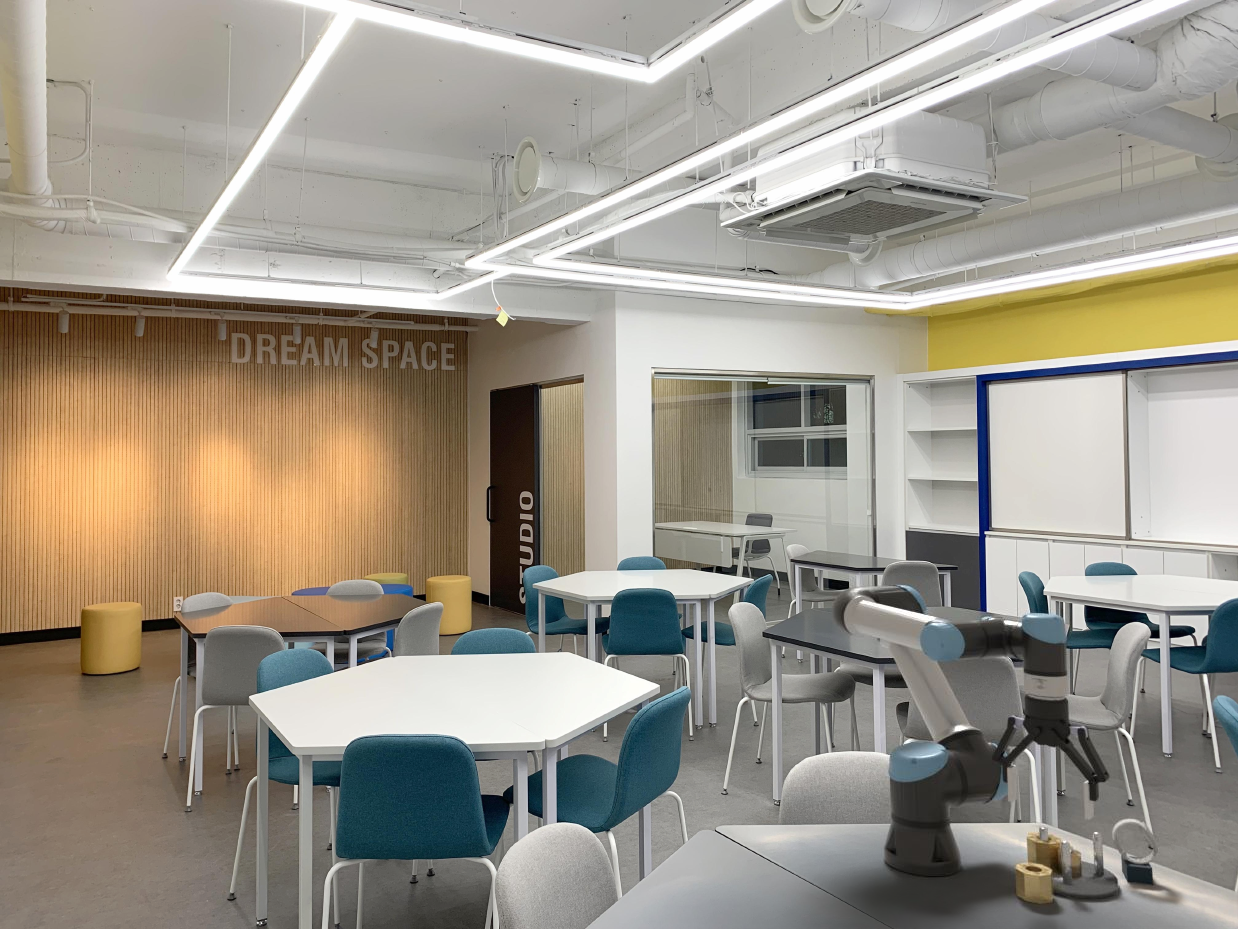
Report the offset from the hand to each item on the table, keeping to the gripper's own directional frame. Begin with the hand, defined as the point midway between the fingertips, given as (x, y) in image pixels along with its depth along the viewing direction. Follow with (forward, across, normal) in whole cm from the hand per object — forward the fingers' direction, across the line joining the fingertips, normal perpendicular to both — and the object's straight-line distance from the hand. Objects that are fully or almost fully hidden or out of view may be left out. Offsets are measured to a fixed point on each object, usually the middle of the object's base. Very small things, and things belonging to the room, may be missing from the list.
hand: (1049, 809), depth 161 cm
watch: (+16, +10, +18) cm, 26 cm away
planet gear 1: (+14, -4, +10) cm, 18 cm away
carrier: (+16, +1, +8) cm, 18 cm away
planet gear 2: (+16, -2, -4) cm, 16 cm away
